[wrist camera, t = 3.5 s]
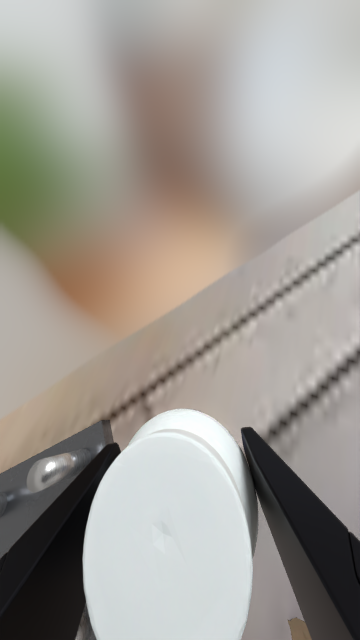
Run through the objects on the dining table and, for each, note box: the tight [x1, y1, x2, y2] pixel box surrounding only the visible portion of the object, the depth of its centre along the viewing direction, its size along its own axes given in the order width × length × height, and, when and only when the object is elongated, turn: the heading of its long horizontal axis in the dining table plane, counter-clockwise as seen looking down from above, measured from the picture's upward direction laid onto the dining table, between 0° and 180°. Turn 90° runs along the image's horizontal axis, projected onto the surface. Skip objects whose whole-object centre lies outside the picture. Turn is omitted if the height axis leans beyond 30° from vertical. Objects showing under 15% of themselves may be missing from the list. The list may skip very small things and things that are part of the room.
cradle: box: [0, 420, 114, 640], centre depth 9 cm, size 10×10×5 cm
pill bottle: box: [83, 409, 258, 640], centre depth 8 cm, size 5×5×10 cm
